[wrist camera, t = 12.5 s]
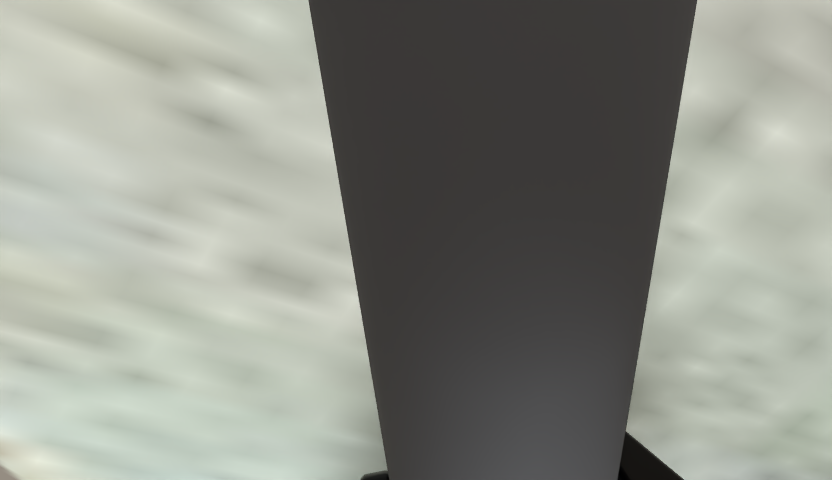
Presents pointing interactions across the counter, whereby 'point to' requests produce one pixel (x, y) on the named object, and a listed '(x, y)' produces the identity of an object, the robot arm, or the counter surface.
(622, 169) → the grey rounded rod
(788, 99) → the counter surface
